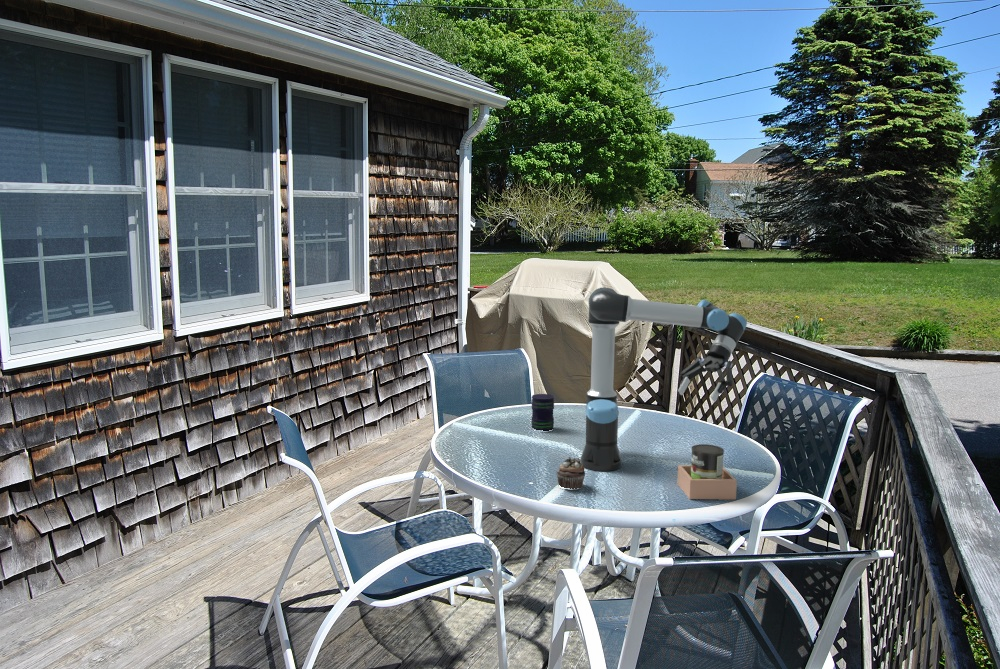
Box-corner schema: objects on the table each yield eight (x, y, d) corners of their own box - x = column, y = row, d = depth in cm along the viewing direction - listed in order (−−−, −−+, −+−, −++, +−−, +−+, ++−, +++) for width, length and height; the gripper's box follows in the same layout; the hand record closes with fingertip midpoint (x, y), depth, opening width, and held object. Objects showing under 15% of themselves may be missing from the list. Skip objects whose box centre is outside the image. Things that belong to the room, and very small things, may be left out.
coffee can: (702, 496, 229) (704, 454, 227) (683, 486, 238) (685, 445, 236) (728, 492, 232) (730, 451, 230) (709, 482, 242) (710, 442, 240)
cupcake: (582, 481, 244) (583, 453, 243) (586, 491, 235) (587, 462, 233) (554, 481, 244) (555, 453, 243) (557, 491, 235) (558, 462, 233)
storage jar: (527, 430, 309) (527, 397, 307) (537, 425, 317) (538, 393, 315) (547, 433, 304) (547, 399, 302) (557, 428, 312) (558, 395, 310)
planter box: (689, 499, 228) (690, 480, 227) (677, 483, 242) (677, 465, 242) (735, 499, 228) (736, 480, 227) (720, 483, 243) (721, 465, 242)
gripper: (756, 361, 252) (731, 408, 245) (695, 352, 271) (671, 396, 263) (749, 347, 248) (723, 395, 240) (688, 340, 267) (663, 384, 259)
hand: (696, 396), depth 252 cm, fingers open, 13 cm apart
